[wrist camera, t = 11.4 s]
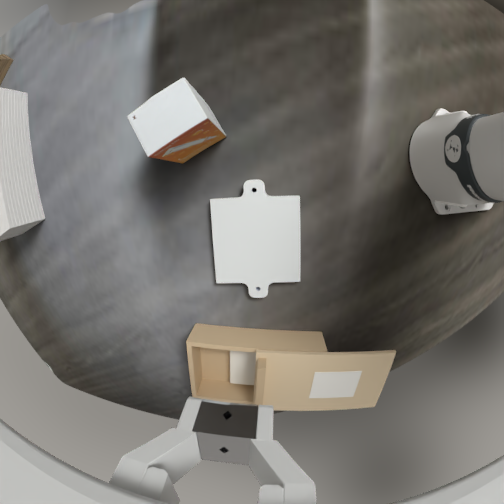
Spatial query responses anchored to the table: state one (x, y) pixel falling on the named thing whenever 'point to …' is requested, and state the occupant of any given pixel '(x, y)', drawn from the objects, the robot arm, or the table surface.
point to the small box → (175, 124)
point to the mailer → (237, 358)
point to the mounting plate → (256, 238)
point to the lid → (320, 379)
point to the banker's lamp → (4, 66)
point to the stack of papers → (17, 168)
